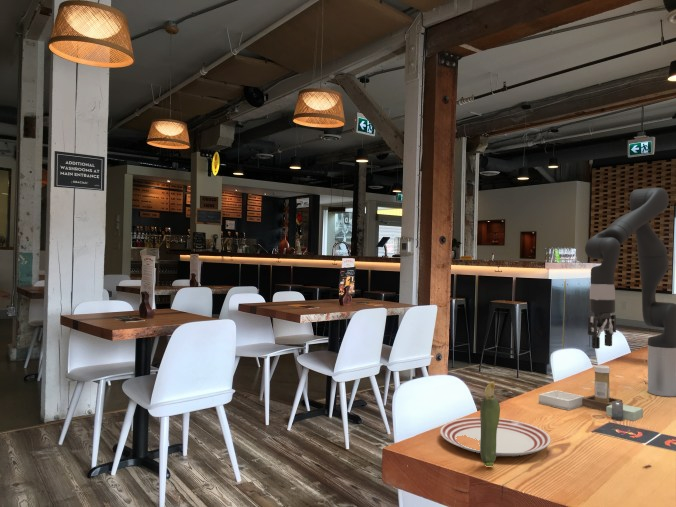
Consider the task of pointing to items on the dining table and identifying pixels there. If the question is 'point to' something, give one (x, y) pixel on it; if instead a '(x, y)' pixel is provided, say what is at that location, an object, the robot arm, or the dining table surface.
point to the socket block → (597, 403)
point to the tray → (561, 400)
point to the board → (628, 412)
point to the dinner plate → (499, 436)
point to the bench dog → (617, 410)
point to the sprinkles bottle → (602, 383)
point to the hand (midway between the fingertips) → (602, 347)
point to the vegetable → (489, 425)
